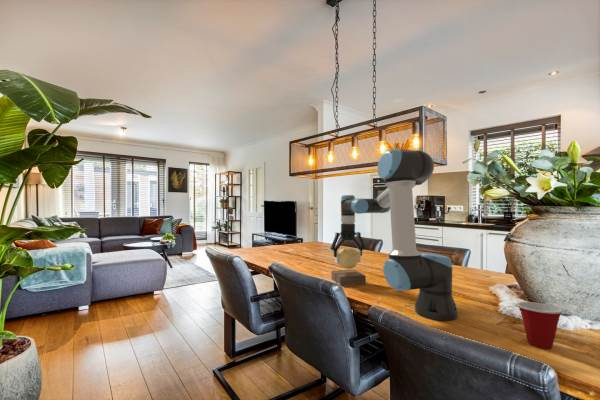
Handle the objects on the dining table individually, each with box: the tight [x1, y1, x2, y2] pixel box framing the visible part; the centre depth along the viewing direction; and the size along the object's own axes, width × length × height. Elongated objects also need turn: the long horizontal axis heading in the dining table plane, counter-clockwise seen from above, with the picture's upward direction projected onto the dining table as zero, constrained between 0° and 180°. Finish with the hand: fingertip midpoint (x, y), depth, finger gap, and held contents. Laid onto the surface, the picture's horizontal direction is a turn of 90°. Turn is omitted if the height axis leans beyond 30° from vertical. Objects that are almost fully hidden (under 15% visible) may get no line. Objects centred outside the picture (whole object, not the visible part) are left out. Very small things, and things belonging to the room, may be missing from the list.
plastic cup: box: [516, 301, 563, 350], centre depth 87 cm, size 11×11×12 cm
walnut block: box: [331, 269, 367, 287], centre depth 155 cm, size 14×14×5 cm
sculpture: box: [338, 247, 360, 269], centre depth 155 cm, size 12×12×11 cm
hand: (347, 262), depth 155 cm, fingers closed on sculpture, 12 cm apart
